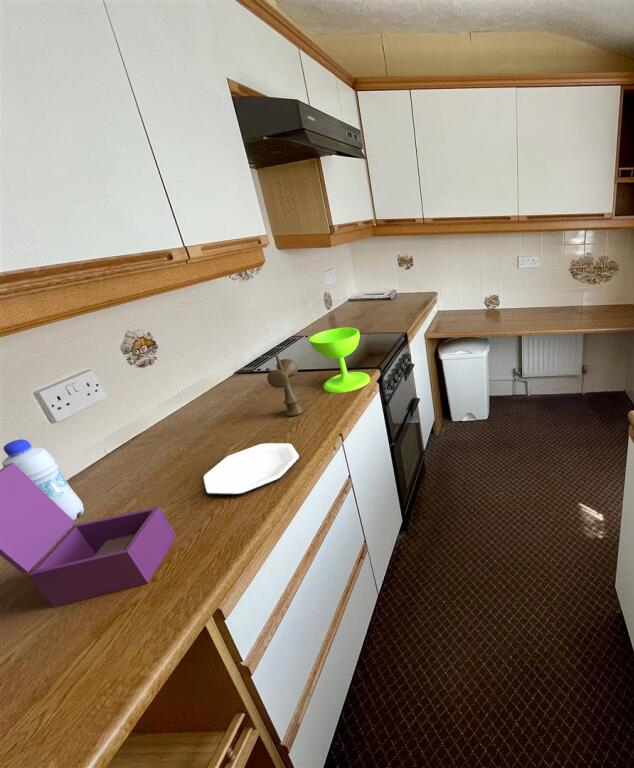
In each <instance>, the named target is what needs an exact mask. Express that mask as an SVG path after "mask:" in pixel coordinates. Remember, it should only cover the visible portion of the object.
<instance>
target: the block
mask: <svg viewBox="0 0 634 768" xmlns="http://www.w3.org/2000/svg"><path fill="white" fill-rule="evenodd" d="M134 536H135V534H133V535H128V536H124V537H119V538H115V539H111V540H107V541H106V542H105V543H104V544H103V546H102V547H101V548H100V549H99V551H98V552H97V553H96V554H95V556H99V555H104V554H108V553H112V552H117V551H121V550H125V548H126V547H127V546H128V544H129V543H130V541H131V540H132V539H133V537H134ZM95 556H94V557H95Z"/></svg>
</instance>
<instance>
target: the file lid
mask: <svg viewBox="0 0 634 768" xmlns="http://www.w3.org/2000/svg"><path fill="white" fill-rule="evenodd" d="M75 523H76V520H72V519H71V518H70V517H69V516H68V515H67V514H66V513H65V512H64V511H63V510H62V509H61V508H60V507H59V506H58V505H57V504H56V503H55V502H54V501H53V500H52V499H51V498H49V497H48V496H47V495H46V494H45V493H44V492H43V491H42V490H41V489H40V488H39V487H38V486H37V485H36V484H35V483H34V482H33V481H32V480H31V479H30V478H29V477H28V476H27V475H25V474H24V473H23V472H22V471H21V470H20V469H19V468H18V467H17V466H16V465H15V464H14V463H10V464H8V465H6V466H5V467H2V468H1V469H0V557H2V559H4V560H5V561H7V562H8V563H9V565H12V566H13V567H14V568H15V569H17V570H18V572H20V573H21V574H27V573H30V572H31V571H32V570H33V569H34V568H35V567H36V565H37V564H38V563H39V562H40V561H41V560H42V559H43V558H44V557H45V556H46V555H47V554H48V553H49V552H50V550H51V549H52V548H53V547H54V546H55V545H56V544H57V543H58V542H59V541H60V540H61V539H62V538H63V536H64V535H65V534H66V533H67V532H68V531H69V530H70V529H71V528H72V527H73V526H74V525H75Z"/></svg>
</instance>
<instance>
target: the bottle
mask: <svg viewBox="0 0 634 768" xmlns="http://www.w3.org/2000/svg"><path fill="white" fill-rule="evenodd" d="M3 452H4V453H5V454H6V455H7V457H6V458H5V459H4V460H3V461H2V463H1V465H2V466H3V467H2V468H4V467H5V466H6V465H8V464H10V463H14V464H15V465H16V466H17V467H18V468H19V469H20V470H21V471H22V472H23V473H24V474H25V475H27V476H28V477H29V478H30V479H31V480H32V481H33V482H34V483H35V484H36V485H37V486H38V487H39V488H40V489H41V490H42V491H43V492H44V493H45V494H46V495H47V496H48V497H49V498H51V499H52V500H53V501H54V502H55V503H56V504H57V505H58V506H59V507H60V508H61V509H62V510H63V511H64V512H65V513H66V514H67V515H68V516H69V517H70V518H71V519H72V520H74V521H76V520H77V517H80V516H82V515H83V514H84V512H85V508H84V504H83V502H82V499H80V497H79V496H78V495H77V494H76V493H75V491H74V490H73V489H72V488H71V485H70V484H69V483H68V481H67V480H66V478H65V477H64V475H63V473H61V471H60V469H59V464H58V463H57V461H56V459H55V458H54V457H53V456H52V455H51V454H50V453H49V452H48V451H47V450H46V449H45V448H44V447H32V444H31V443H30V442H29V440H27V439H24V438H23V439H15V440H12V441H9V442H8V443H6V444H5V445H4V446H3Z"/></svg>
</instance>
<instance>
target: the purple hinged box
mask: <svg viewBox="0 0 634 768" xmlns="http://www.w3.org/2000/svg"><path fill="white" fill-rule="evenodd" d="M133 534H135V536H134V537H133V539H132V540H131V541H130V543H129V544H128V546H127V547H126V548H125V550H121V551H117V552H112V553H108V554H104V555H99V556H95V554H96V553H97V552H98V551H99V549H100V548H101V547H102V546H103V544H104V543H105V542H106V541H107V540H111V539H115V538H119V537H124V536H128V535H133ZM176 537H177V535H176V533H175V531H174V530H173V528H172V526H171V525H170V522H169V521H168V519H167V517H166V516H165V513H164V512H163V510H162V509H161V507H160V506H155V507H151V508H146V509H140V510H137V511H132V512H127V513H123V514H117V515H114V516H113V515H112V516H109V517H104V518H99V519H95V520H90V521H86V522H80V523H77V524H73V525H72V526H71V527H70V528H69V529H68V530H67V531H66V532H65V533H64V535H63V536H62V537H61V538H60V539H59V540H58V541H57V542H56V543H55V544H54V545H53V546H52V547H51V549H50V550H49V551H48V552H47V553H46V554H45V555H44V556H43V557H42V558H41V559H40V560H39V562H38V563H37V564H36V565H35V566H34V567H33V568H32V569H31V570H30V571H29V572H28V574H27V576H28V577H29V578H30V580H31V581H32V582H33V583H34V585H35V587H37V588H38V590H40V592H41V593H42V594H43V595H44V597H45V598H46V599H47V601H49V603H50V604H51V606H53V608H56V607H61V606H64V605H68V604H72V603H76V602H81V601H83V600H88V599H92V598H96V597H100V596H105V595H108V594H111V593H116V592H120V591H124V590H128V589H132V588H135V587H140V586H144V585H148V584H149V583H150V581H151V580H152V577H153V576H154V574H155V572H156V571H157V569H158V568H159V566H160V564H161V563H162V561H163V560H164V558H165V556H166V554H167V552H168V551H169V549H170V547H171V546H172V544H173V543H174V541H175V540H176ZM94 556H95V557H94Z"/></svg>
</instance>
